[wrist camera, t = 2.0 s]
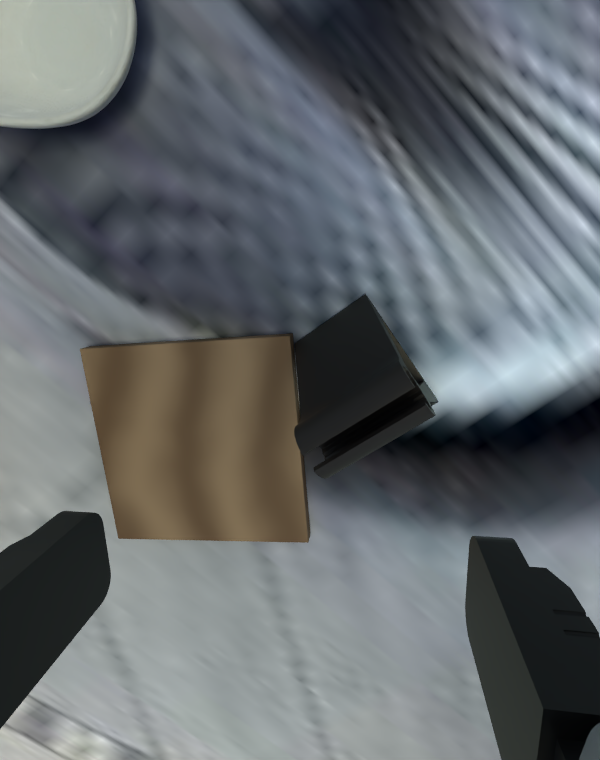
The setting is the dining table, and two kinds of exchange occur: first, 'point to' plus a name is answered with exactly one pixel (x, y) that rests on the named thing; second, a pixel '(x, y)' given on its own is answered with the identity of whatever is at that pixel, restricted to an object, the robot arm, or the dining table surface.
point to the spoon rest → (62, 59)
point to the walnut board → (201, 438)
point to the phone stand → (356, 388)
